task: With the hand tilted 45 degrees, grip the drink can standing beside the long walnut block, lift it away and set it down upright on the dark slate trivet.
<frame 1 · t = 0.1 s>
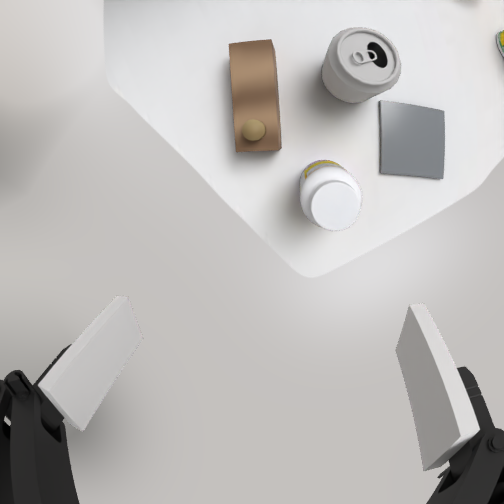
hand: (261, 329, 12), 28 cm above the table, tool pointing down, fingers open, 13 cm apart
supplement bottle 2: (324, 182, 36), on the table
trivet: (413, 140, 30), on the table
can: (348, 78, 29), on the table
walnut block: (259, 98, 32), on the table
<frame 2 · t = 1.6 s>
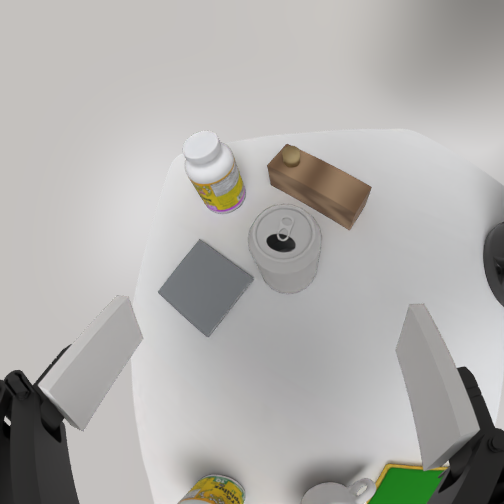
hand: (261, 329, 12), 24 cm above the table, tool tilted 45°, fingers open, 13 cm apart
dish sponge: (412, 484, 23), on the table
supplement bottle: (221, 491, 27), on the table
supplement bottle 2: (225, 197, 43), on the table
trivet: (204, 287, 38), on the table
can: (289, 268, 37), on the table
cup: (333, 491, 25), on the table
walnut block: (317, 194, 40), on the table
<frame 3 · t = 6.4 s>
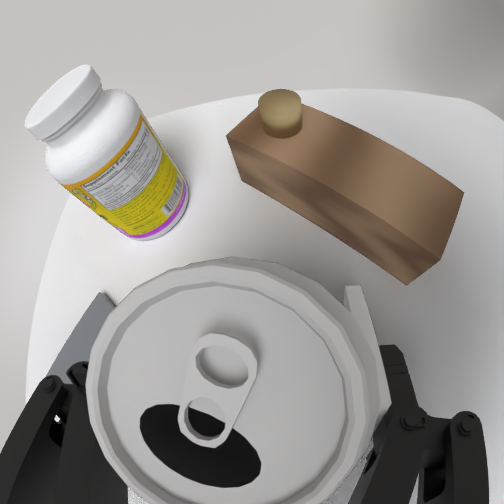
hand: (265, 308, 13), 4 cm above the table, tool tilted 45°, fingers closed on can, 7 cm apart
supplement bottle 2: (155, 207, 21), on the table
trivet: (107, 384, 16), on the table
can: (269, 372, 16), on the table, touching gripper
walnut block: (339, 201, 19), on the table
when the fingers open (6 cm above the table, at t = 11.2 s): can drops 1 cm, resting on trivet.
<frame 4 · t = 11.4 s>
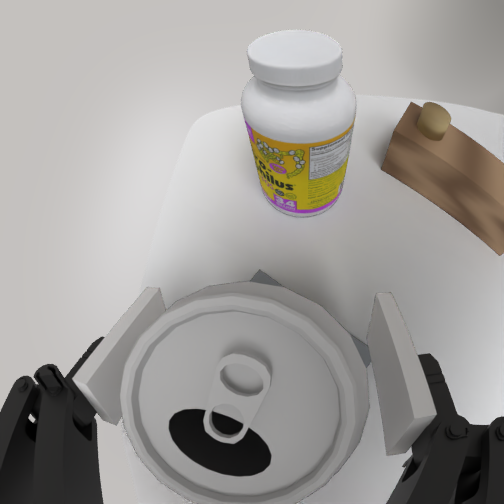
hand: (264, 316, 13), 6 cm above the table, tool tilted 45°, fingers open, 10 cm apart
supplement bottle 2: (302, 186, 22), on the table
trivet: (272, 370, 17), on the table
can: (273, 371, 17), point 1 cm above the table, touching trivet
walnut block: (452, 192, 19), on the table
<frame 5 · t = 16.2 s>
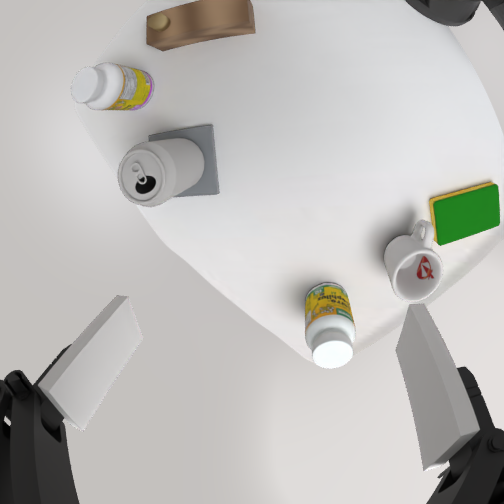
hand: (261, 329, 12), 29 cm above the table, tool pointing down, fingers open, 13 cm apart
dish sponge: (463, 209, 34), on the table
supplement bottle: (326, 299, 44), on the table
supplement bottle 2: (138, 90, 34), on the table
trivet: (183, 162, 38), on the table
can: (182, 162, 38), point 1 cm above the table, touching trivet
cup: (404, 243, 38), on the table
walnut block: (205, 27, 29), on the table
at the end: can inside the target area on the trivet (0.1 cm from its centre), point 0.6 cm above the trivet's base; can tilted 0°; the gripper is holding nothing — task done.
